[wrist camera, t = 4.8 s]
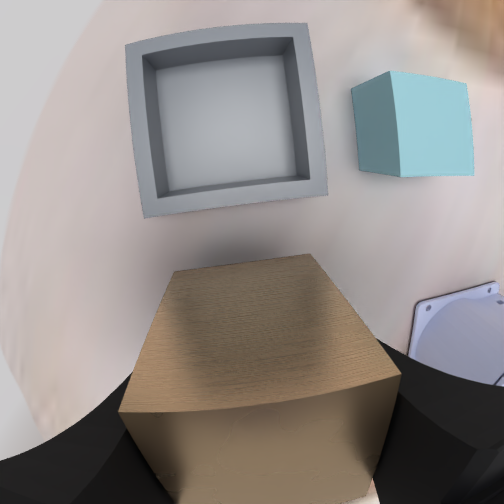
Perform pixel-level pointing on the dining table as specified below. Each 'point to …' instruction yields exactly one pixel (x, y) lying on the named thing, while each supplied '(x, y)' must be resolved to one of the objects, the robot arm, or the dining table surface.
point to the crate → (225, 117)
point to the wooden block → (260, 388)
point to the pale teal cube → (413, 126)
